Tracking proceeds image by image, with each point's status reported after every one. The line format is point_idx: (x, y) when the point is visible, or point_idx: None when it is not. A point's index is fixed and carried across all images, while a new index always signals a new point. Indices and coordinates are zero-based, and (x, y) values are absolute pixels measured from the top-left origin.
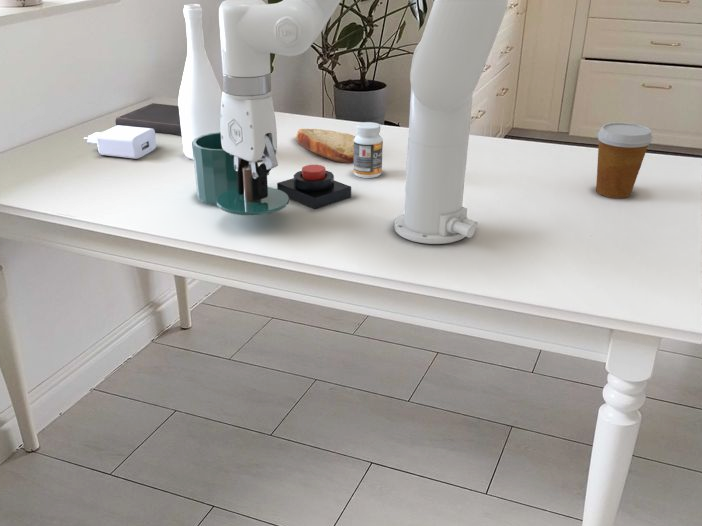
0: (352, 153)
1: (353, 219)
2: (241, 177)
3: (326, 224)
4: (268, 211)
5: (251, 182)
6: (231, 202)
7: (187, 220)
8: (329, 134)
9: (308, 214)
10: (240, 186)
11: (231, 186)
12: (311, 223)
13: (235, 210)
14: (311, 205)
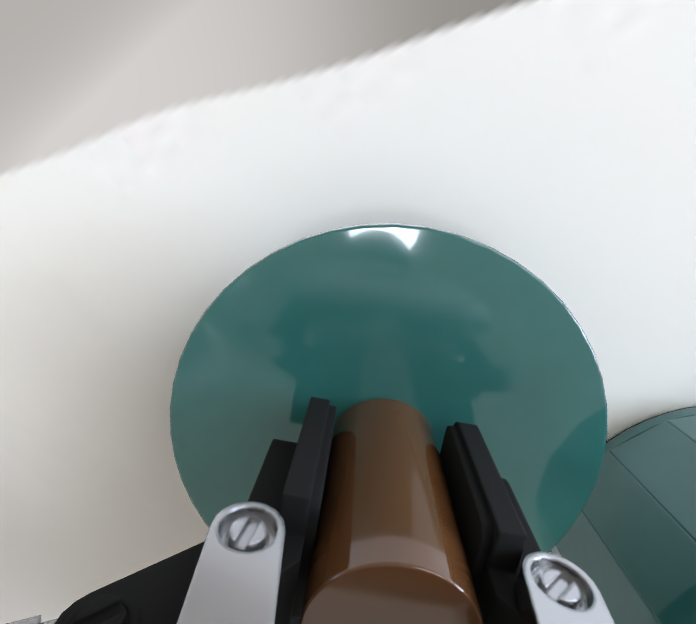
0: None
1: None
2: (469, 514)
3: (136, 527)
4: (178, 365)
5: (295, 468)
6: (442, 324)
7: (679, 202)
8: None
9: None
10: (457, 455)
11: (651, 529)
12: (185, 504)
13: (323, 242)
14: (293, 619)
